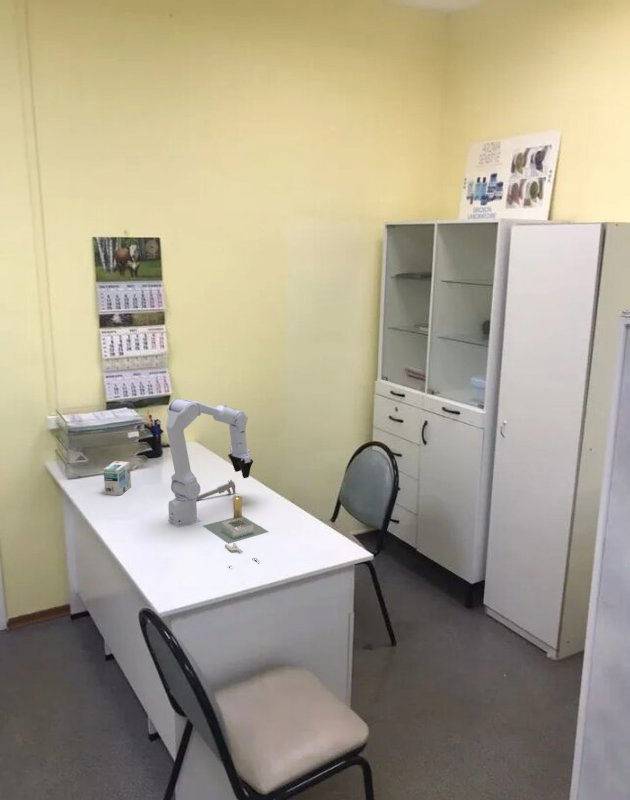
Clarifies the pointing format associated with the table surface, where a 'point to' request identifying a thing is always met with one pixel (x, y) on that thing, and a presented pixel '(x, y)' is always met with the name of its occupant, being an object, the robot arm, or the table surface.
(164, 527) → the table surface
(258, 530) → the mat
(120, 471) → the light bulb box
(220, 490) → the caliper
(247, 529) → the silver square socket
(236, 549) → the pliers
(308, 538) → the table surface
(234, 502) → the pin
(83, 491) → the table surface
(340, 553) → the table surface
